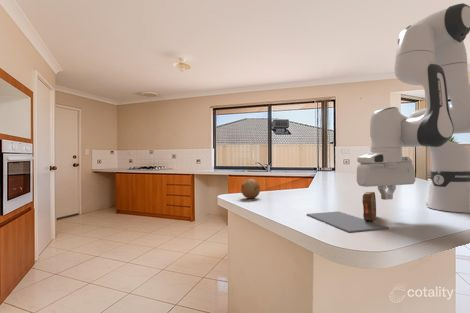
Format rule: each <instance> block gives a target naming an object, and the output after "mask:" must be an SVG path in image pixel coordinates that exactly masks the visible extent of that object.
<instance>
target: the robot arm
mask: <svg viewBox="0 0 470 313" xmlns="http://www.w3.org/2000/svg"><path fill="white" fill-rule="evenodd" d="M469 33H470V5H468V4H466V3H457V4H453V5H450V6H449V7H447V8H444V9H442V10H439V11H436V12H434V13H432V14H429V15H428V16H426V17H424V18H422V19H421V20H419V21H417V22H415V23H413V24H410V25H408V26H407V27H405V28H403V30H401V32H400V33H399V34H398V35H399V36H398V39H397V49H396V55H395V61H394V62H395V63H394V75H395V77H396V78H397V80H399V81H400V82H402V83H404V84H408V85H413V86H421V87H423V90H424V101H425V107H424V108H420V109H417V110H414V111H412V112H411V113H410V115H409V117H408V116H405V115H404V114H402V113H401V112H400V110H399V108H398V107H397V106H391V107H386V108H381V109H378V110H375V111H374V112H372V114H371V116H370V122H369V123H370V124H369V136H370V139H371V140H370V141H371V145H370V151H369V152H366V153H364V154H362V155H359V156H358V157H357V158H356V161H357V163H359V164H358V165H357V168H356V182H357V185H358V186H359V187H365V188H369V187H371V188H372V187H377V189H378V192H379V193H380V198H381V200H384V201H385V200H387V201H388V200H393V198H394V194H395V191H396V189H397V186H403V185H405V186H406V185H414V184H415V182H416V172H415V168H414V164H413V160H412V159H411V158H410V157H409V156H403V148H408V147H410V148H415V147H427V148H428V150H429V153H430V160H431V171H430V172H429V173H430V175H429V178H430V180H431V183H430V184H429V186H428V196H427V198H428V199H427V201H426V202H425V205H426V206H427V208H430V209H433V210H439V211H443V212H444V211H446V212H453V213H465V214H466V213H469V214H470V150H469V148H468V147H467V146H464V145H462V144H460V143H456V142H454V141H451V138H452V136H453V134H454V135H456V134H470V80H469V72H468V54H467V49H466V45H465V42H464V40H465V39H466V38H467V35H469ZM449 100H450V102H451V103H450V104H449ZM386 189H387V190H386Z"/></svg>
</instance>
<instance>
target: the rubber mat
mask: <svg viewBox="0 0 470 313" xmlns="http://www.w3.org/2000/svg"><path fill="white" fill-rule="evenodd" d="M306 216H308V217H310V218H313V219H315V220H318V221H320V222H322V223H324V222H325V224H327V225H330V226H331V227H335V228H336V229H340V230H341V231H344V232H346V233H359V232H369V231H377V230H380V231H381V230H386V229H390V227H389V226H386V225H383V224H380V223H378V222H375V221H374V222H373V221H366V220H364V218H360V217H358V216H354V215H351V214H348V213H345V212H342V211H327V212H314V213H313V212H312V213H306Z"/></svg>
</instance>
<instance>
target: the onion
mask: <svg viewBox="0 0 470 313" xmlns="http://www.w3.org/2000/svg"><path fill="white" fill-rule="evenodd" d="M240 191H241V194H242V195H243V196H244V198H247V199H255V198H257V197H258V196H259V195H260V192H261V186H260V184H259V182H258V181H257V180H256V179H253V178H246V179H245V180H244V181H243V182H242V183H241V186H240Z"/></svg>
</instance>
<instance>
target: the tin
mask: <svg viewBox="0 0 470 313" xmlns="http://www.w3.org/2000/svg"><path fill="white" fill-rule="evenodd" d="M362 205H363V208H362V209H363V215H362V216H363V219H364V220H366V221H371V222H374V223H375V220H376V218H377V200H376V193H375V191H366V192H364V194H362Z"/></svg>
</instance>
